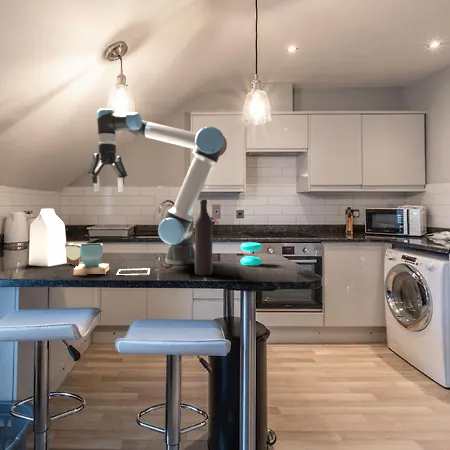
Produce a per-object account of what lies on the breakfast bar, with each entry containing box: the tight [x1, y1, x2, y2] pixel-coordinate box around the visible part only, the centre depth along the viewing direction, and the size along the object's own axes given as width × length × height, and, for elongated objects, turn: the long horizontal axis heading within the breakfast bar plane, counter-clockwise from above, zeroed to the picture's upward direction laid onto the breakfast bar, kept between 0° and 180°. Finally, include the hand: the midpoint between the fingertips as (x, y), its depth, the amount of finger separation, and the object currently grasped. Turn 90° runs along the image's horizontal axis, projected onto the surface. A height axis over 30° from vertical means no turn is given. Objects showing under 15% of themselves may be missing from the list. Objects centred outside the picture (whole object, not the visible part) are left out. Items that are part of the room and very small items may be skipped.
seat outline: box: [115, 268, 151, 276], centre depth 158 cm, size 13×13×1 cm
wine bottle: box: [194, 199, 213, 276], centre depth 154 cm, size 7×7×30 cm
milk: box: [28, 208, 67, 267], centre depth 179 cm, size 12×12×26 cm
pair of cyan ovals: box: [240, 242, 263, 267], centre depth 179 cm, size 10×10×10 cm
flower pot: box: [80, 242, 104, 267], centre depth 157 cm, size 9×9×9 cm
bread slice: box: [73, 263, 110, 276], centre depth 158 cm, size 12×12×3 cm
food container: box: [64, 241, 86, 266], centre depth 179 cm, size 12×6×10 cm, turn 58°
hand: (109, 191), depth 173 cm, fingers open, 13 cm apart
